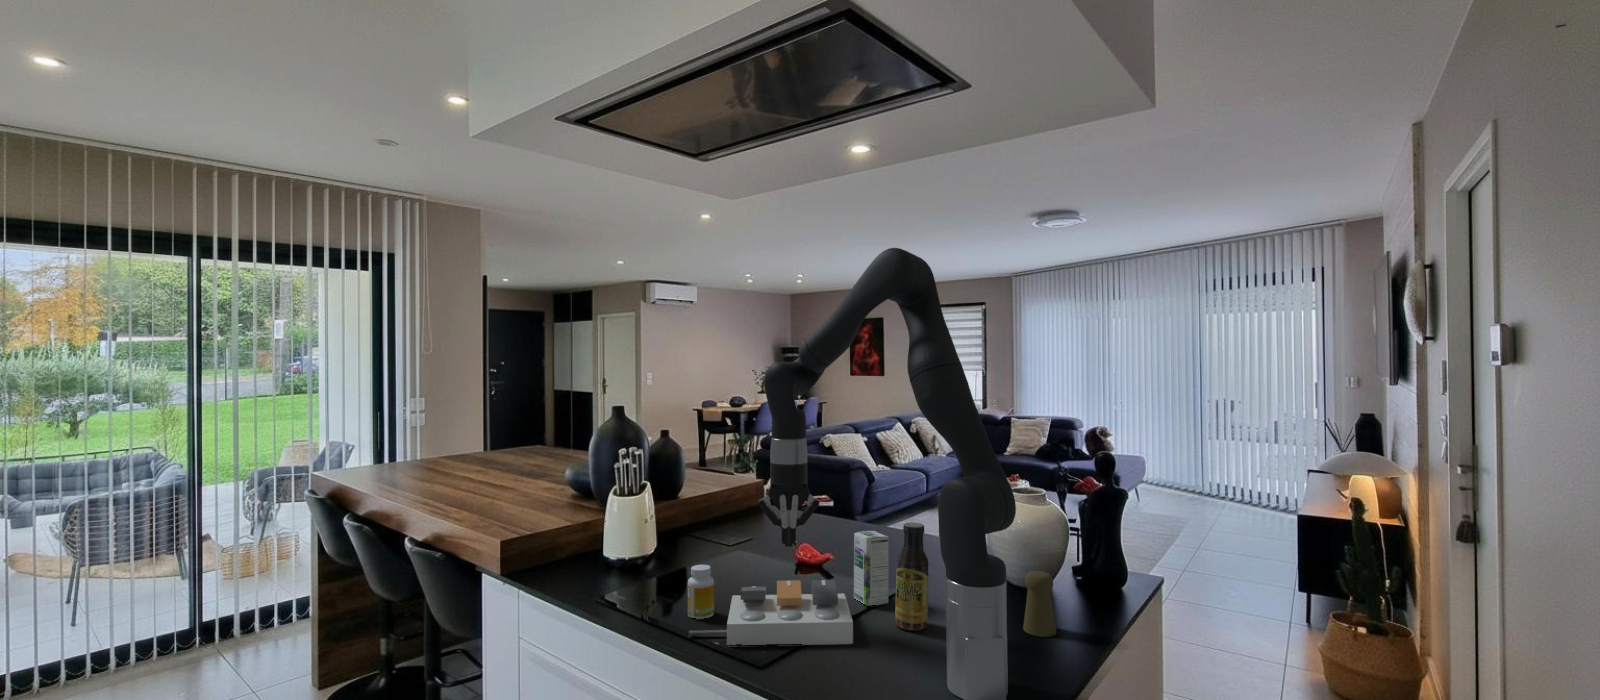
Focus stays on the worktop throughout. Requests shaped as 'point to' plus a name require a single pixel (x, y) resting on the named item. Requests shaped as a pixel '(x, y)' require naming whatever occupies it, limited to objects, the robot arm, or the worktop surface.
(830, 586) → the block
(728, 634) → the power strip
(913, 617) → the sauce bottle
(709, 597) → the supplement bottle
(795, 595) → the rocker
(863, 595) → the syrup box
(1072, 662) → the worktop surface
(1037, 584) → the yellow pepper mill
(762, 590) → the block
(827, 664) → the worktop surface
